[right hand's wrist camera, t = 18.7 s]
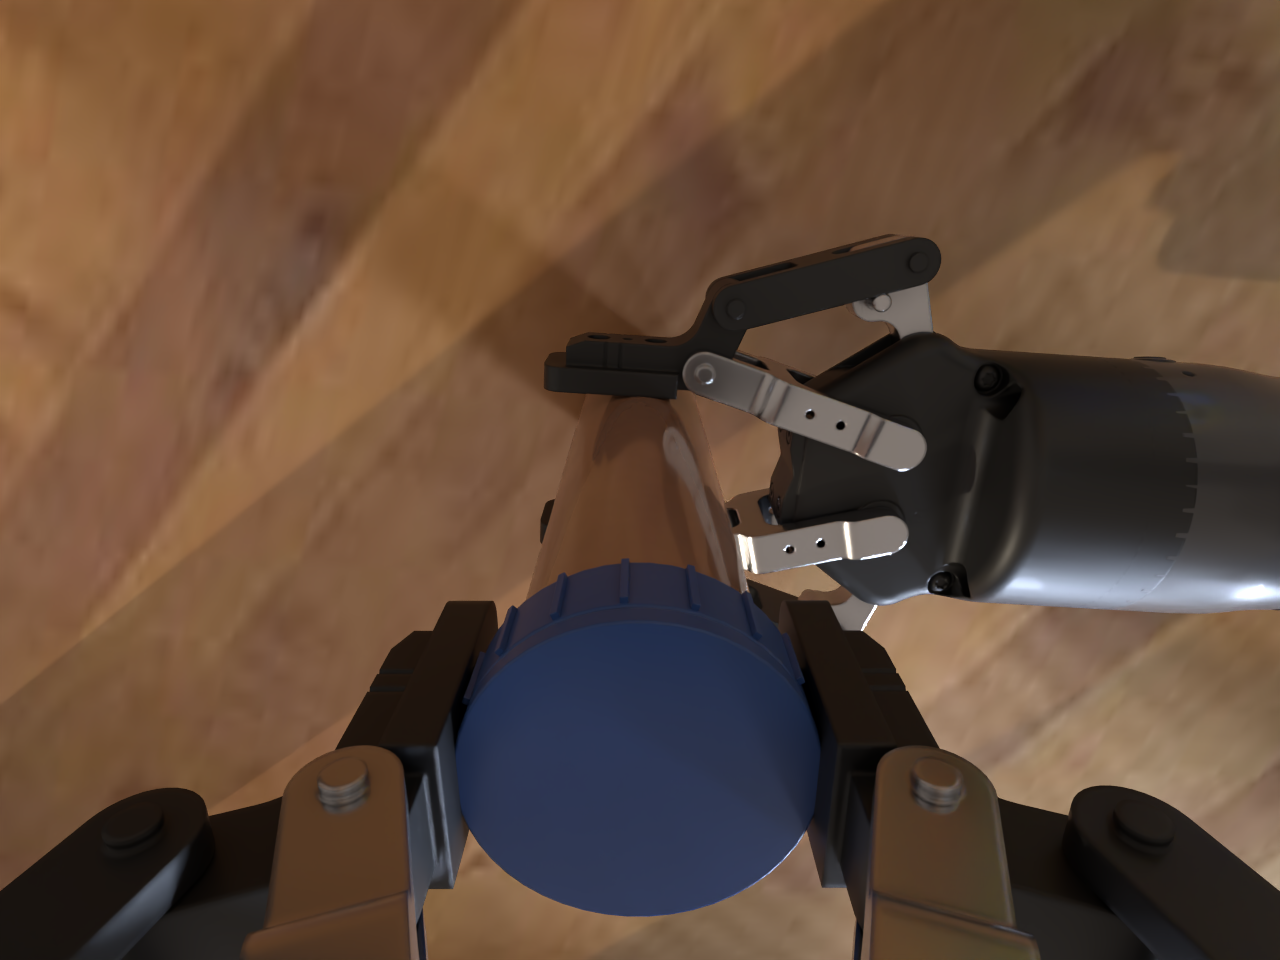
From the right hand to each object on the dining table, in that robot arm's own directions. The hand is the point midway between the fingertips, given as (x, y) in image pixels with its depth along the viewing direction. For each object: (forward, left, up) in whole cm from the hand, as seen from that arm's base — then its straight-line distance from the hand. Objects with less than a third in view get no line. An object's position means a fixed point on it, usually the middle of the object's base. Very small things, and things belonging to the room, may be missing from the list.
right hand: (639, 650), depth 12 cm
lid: (0, 0, +3) cm, 3 cm away
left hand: (-1, +3, -10) cm, 11 cm away
